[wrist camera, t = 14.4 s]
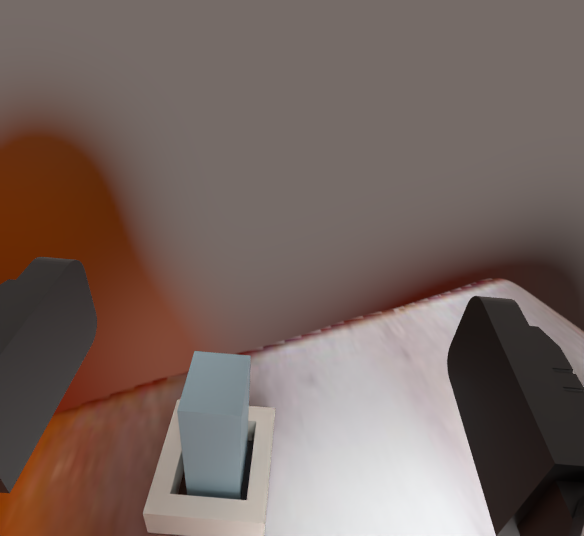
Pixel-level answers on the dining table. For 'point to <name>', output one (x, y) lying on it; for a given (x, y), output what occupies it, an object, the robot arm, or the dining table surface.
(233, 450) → the blue-grey rectangular block
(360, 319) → the dining table surface
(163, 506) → the end cap
